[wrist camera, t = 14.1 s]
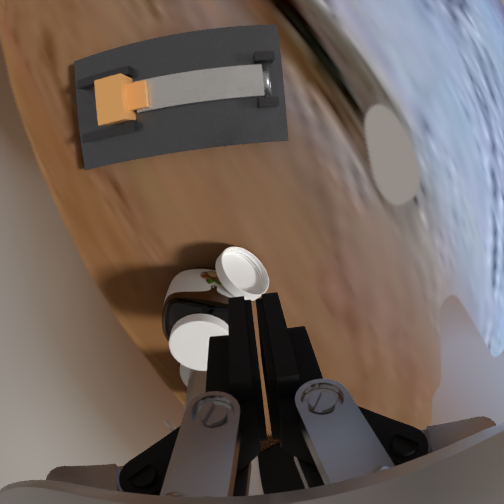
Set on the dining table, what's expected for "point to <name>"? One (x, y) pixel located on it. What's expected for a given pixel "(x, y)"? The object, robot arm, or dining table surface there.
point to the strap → (208, 86)
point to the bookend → (278, 471)
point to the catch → (119, 99)
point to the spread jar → (208, 303)
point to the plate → (189, 115)
